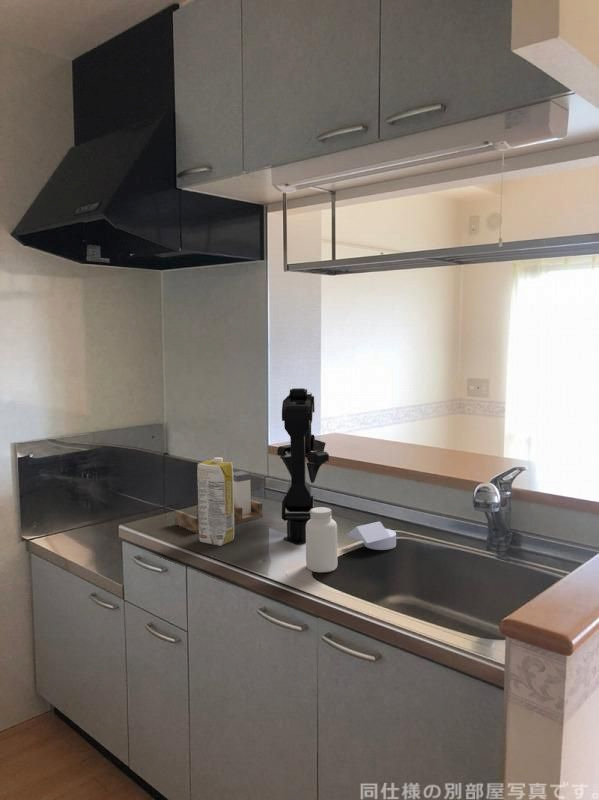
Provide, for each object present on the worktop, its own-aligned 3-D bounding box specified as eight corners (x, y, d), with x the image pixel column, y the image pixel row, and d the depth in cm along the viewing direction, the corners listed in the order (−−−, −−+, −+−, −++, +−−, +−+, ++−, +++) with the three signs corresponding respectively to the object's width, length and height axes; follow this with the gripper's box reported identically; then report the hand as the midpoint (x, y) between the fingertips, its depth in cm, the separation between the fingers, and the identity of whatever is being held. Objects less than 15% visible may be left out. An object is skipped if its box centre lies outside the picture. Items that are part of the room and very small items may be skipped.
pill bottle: (299, 566, 164) (299, 509, 163) (323, 559, 169) (323, 503, 168) (319, 575, 158) (319, 516, 156) (343, 568, 163) (343, 510, 161)
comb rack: (262, 516, 208) (262, 503, 207) (196, 533, 191) (195, 518, 191) (240, 509, 217) (240, 496, 216) (175, 524, 200) (174, 510, 200)
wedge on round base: (367, 555, 172) (402, 545, 180) (367, 530, 171) (403, 522, 179) (345, 546, 180) (380, 537, 187) (345, 522, 179) (381, 514, 186)
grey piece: (250, 513, 209) (250, 473, 207) (237, 515, 206) (236, 475, 204) (242, 509, 213) (242, 470, 211) (229, 512, 210) (228, 473, 208)
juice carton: (238, 539, 186) (236, 457, 183) (221, 547, 179) (219, 462, 176) (212, 534, 190) (210, 454, 188) (195, 542, 184) (192, 459, 181)
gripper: (341, 432, 203) (341, 481, 205) (301, 425, 217) (301, 471, 218) (315, 436, 195) (315, 487, 197) (275, 429, 209) (276, 476, 211)
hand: (302, 480), depth 206 cm, fingers open, 9 cm apart
